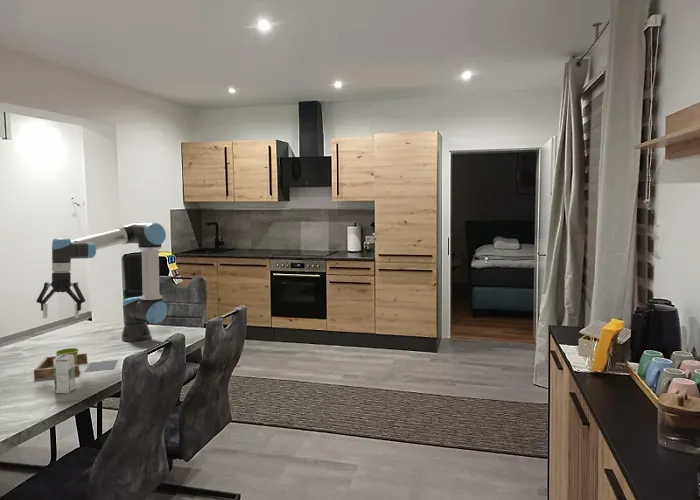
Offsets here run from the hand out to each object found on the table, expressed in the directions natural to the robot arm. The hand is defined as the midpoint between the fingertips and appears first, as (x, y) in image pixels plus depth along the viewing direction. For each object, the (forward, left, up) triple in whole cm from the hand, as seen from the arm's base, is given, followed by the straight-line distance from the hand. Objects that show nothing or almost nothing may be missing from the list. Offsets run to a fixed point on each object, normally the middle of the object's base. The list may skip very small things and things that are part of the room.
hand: (61, 318), depth 240 cm
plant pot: (-2, +5, -23) cm, 24 cm away
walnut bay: (0, +5, -23) cm, 23 cm away
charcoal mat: (-16, +5, -23) cm, 29 cm away
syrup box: (-7, +36, -23) cm, 43 cm away
